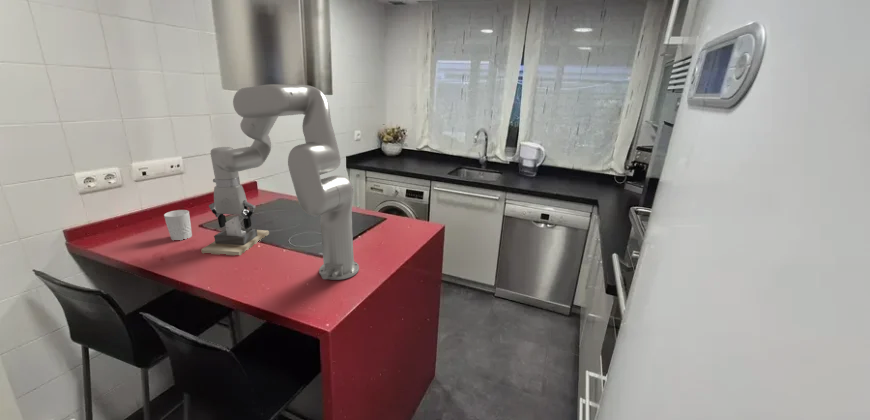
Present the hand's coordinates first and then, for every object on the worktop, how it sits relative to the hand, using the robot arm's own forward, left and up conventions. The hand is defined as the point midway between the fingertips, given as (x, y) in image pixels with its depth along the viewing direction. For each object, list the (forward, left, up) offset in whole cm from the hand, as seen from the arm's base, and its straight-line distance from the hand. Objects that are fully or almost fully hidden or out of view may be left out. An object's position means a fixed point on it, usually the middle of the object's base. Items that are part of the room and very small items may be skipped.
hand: (235, 226), depth 136 cm
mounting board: (0, 0, -7) cm, 7 cm away
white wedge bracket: (0, 0, -5) cm, 5 cm away
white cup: (+2, +24, -7) cm, 25 cm away
